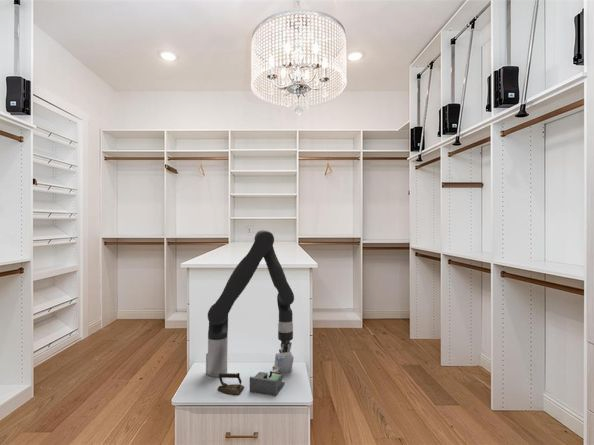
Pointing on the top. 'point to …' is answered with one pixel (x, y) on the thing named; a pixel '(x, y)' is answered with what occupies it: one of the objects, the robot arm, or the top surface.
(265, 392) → the box
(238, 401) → the top surface
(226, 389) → the clothes iron
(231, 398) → the top surface
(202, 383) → the top surface
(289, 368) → the medicine box
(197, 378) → the top surface
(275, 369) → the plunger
